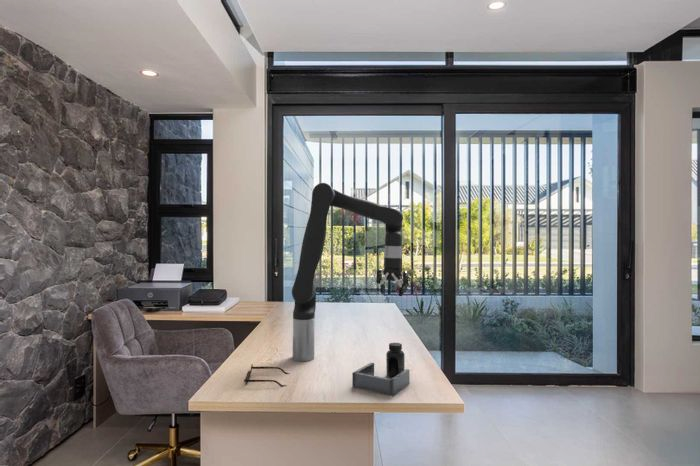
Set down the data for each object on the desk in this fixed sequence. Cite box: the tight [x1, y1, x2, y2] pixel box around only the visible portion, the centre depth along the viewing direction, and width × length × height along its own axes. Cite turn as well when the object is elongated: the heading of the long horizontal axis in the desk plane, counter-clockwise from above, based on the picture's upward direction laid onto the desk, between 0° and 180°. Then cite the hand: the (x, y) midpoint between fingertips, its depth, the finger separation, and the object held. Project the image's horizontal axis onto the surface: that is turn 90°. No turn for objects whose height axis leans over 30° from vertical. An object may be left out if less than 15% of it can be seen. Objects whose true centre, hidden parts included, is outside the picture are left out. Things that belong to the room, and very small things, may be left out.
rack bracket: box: [351, 362, 410, 397], centre depth 150 cm, size 14×15×5 cm
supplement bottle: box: [385, 342, 406, 379], centre depth 160 cm, size 7×7×12 cm
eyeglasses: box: [243, 363, 290, 388], centre depth 154 cm, size 15×15×5 cm
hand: (391, 295), depth 180 cm, fingers open, 8 cm apart
